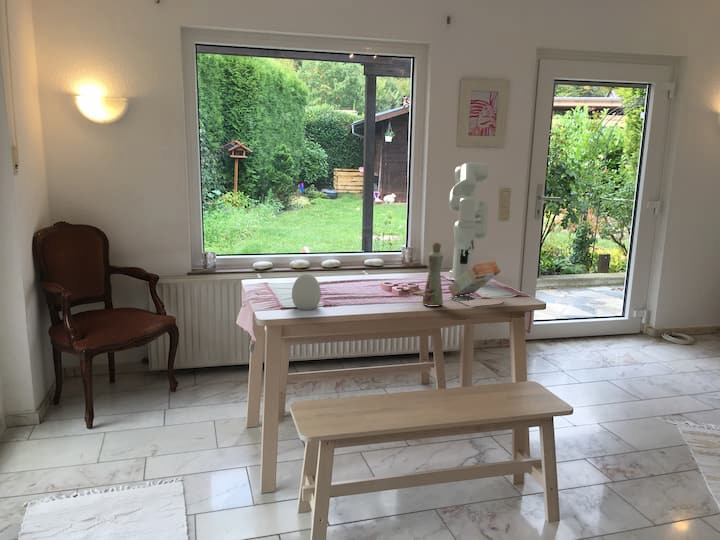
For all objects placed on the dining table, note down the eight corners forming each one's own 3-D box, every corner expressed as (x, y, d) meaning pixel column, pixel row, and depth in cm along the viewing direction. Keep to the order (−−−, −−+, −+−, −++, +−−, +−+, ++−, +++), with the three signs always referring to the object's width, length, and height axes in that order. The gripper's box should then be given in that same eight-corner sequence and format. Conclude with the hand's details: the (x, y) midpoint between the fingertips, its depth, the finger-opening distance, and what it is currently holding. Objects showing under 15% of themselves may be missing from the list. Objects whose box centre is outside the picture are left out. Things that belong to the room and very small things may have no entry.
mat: (450, 298, 275) (450, 297, 274) (481, 295, 283) (481, 293, 283) (472, 307, 261) (472, 305, 261) (503, 303, 269) (504, 302, 269)
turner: (399, 290, 287) (399, 288, 286) (405, 289, 290) (405, 286, 290) (426, 297, 276) (426, 295, 276) (432, 295, 280) (432, 293, 280)
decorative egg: (321, 303, 259) (321, 270, 256) (320, 311, 248) (321, 276, 244) (292, 303, 259) (292, 269, 256) (290, 311, 247) (290, 275, 244)
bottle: (442, 308, 258) (446, 244, 252) (421, 306, 260) (424, 243, 254) (443, 303, 266) (447, 241, 260) (423, 301, 268) (426, 240, 262)
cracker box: (453, 298, 277) (480, 275, 262) (447, 287, 279) (473, 263, 264) (474, 294, 285) (501, 271, 270) (468, 283, 287) (495, 260, 272)
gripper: (450, 222, 279) (447, 261, 283) (469, 227, 266) (467, 267, 270) (462, 222, 283) (460, 260, 287) (483, 226, 270) (480, 266, 274)
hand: (463, 263), depth 278 cm, fingers closed
